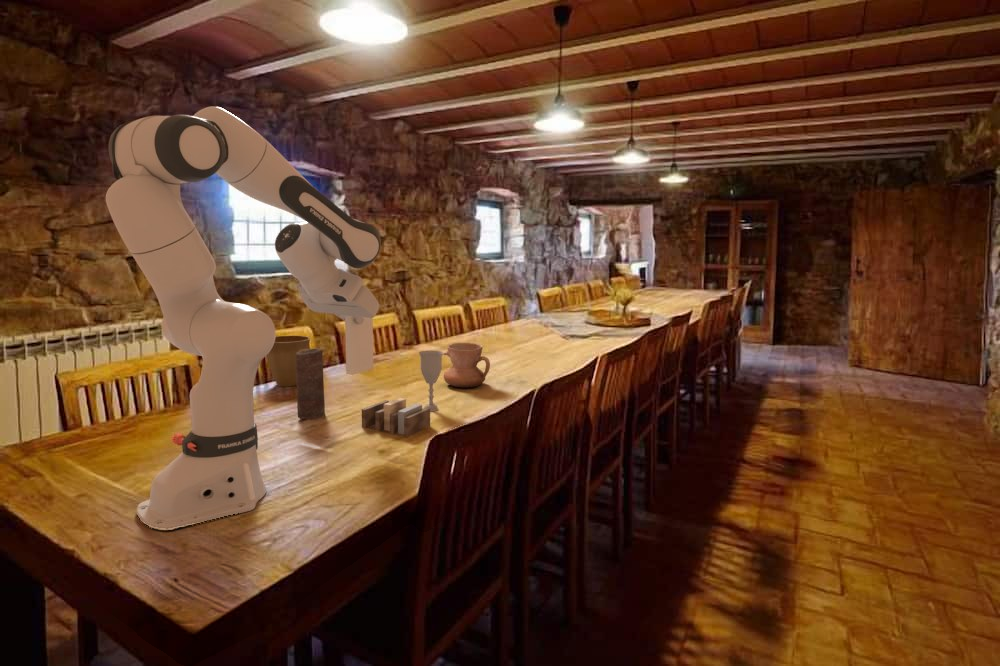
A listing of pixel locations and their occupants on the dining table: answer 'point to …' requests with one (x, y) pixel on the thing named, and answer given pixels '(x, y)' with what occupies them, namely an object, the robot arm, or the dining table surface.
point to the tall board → (358, 345)
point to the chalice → (431, 372)
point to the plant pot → (286, 358)
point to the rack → (394, 420)
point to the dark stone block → (310, 384)
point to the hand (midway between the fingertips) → (355, 321)
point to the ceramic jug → (465, 365)
